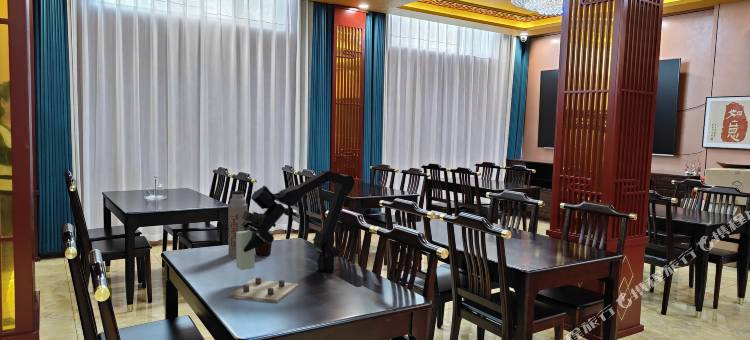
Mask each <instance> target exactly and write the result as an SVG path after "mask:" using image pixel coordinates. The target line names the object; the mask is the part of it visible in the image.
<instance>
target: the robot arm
mask: <svg viewBox="0 0 750 340" xmlns="http://www.w3.org/2000/svg"><path fill="white" fill-rule="evenodd" d="M354 178H355V177H353V176H352V175H348V174H343V173H341V174H339V173H337V172H335V171H334V172H333V171H332V170H328V169H324V170H322V171H321V172H318V174H315V175H313V176H312V177H310V178H308V179H306V180H305V181H303V182H301V183H299V184H298V185H294V186H289V187H286V188H284V189H283V188H282V189H281V190H280V191H279V192H276V193H273V192H271V190H270V189H269V188H268V187H267V185H263V186H262V187H261V188H258V189H256V190H255V191H254V192H253V193H252V195H251V196H250V197H251V198H250V199H251V200H252V201H253V202H254V203H255V204H256V205H257V206H258V207H259V208H260V209H261V210H264V212H263V213H258V212H257V211H253V212H250V211H248V210H247V211H245V212H244V214H243V216H242V219H244V220H246V221H244V222H243V223H242V224H241V225H242V226H243V229H244V231H248V230H250V231H252V238H251V240H250V241H249V242H248V244H247V245H246V247H245V248H244V250H243V251H244V252H247V251H249V250H252V249H254V250H255V248H256V247H258V246H260V245H263V244H266V243H265V241H267V243H269V244H271V243H273V242H274V241H275V237H274V235H273V236H272V235H271V234H270V233H269V232H268V231H271V229H272V228H273V227H274V228H275V227H276V226H277V224H276V223H277V222H278V221H279V220H280V219H281V217H283V215H285V216H287V217H289V216H290V208H288V207H293V206H295V205H297V204H298V203H299V202H300V201H301V200H302V199H303V197H304V196H305V195H307V194H309V193H310V192H312V191H314V190H315V189H317V188H319V187H321V186H323V185H324V184H326V183H328V182H330V183H333V197H332V200H331V203H330V205H329V208H328V212H327V215H326V218H325V220H324V223H323V226H322V228H321V230H320V231H318V230H316V231H315V233H314V234H315V235H314V237H313V239H312V241H313V244H312V245H313V247H314V249H315V250H316V252H317V254H318V258H317V272H323V273H334V272H335V271H336V270H337V269H338V267H337V257H339V254H340V251H339V250H338V249H337V247H335V242H336V237H335V230H336V228H337V224H338V222H339V220H340V219H339V218H340V215H341V213H342V210H343V207H344V203H345V201H346V198H347V197H348V196H349V195H350V194H351V192H352V191H353V189H354V187H355V185H356V184H355V183H356V181H355V179H354ZM276 201H277V202H276ZM285 206H288V207H285ZM265 209H266V210H265Z"/></svg>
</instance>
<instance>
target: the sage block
mask: <svg viewBox="0 0 750 340" xmlns="http://www.w3.org/2000/svg"><path fill="white" fill-rule="evenodd" d="M251 238H252V231H250V230H248V231H239V232H236V257H235V258H236V259H235V260H236V262H235V263H236V264H235V265H236V268H237V269H238V270H240V271H245V270H251V269H255V248H254V249H252V250H249V251H247V252H244V251H243V250H244V248H245V247H246V245H247V244H248V242H249V241H250V240H251Z"/></svg>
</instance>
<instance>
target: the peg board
mask: <svg viewBox="0 0 750 340" xmlns="http://www.w3.org/2000/svg"><path fill="white" fill-rule="evenodd" d="M298 287H299V283H293V282H286V281H285V279H279V280H278V281H275V280H274V281H273V280H263V279H262V277H255V278H252V279H251V280H249V281H247V282H245V283H244V284H242V285H240V286H239V287H237V288H236V289H234V290H232V291H231V292H229V293H227V298H231V299H240V300H247V301H248V300H249V301H258V302H266V303H275V304H278V303H279V302H280V301H282V300H283V299H285V298H286V297H287V296H288V295H290V294H291V293H292V292H294V291H295V290H296V289H297V288H298Z"/></svg>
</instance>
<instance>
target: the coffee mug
mask: <svg viewBox="0 0 750 340" xmlns="http://www.w3.org/2000/svg"><path fill="white" fill-rule="evenodd" d="M268 232H269V233H270V234H271V235H272V236H273V237H274V231H273V230H269V231H268ZM265 243H266V244H263V245H260V246H258V247H256V248H254V254H255V256H257V257H261V258H262V257H268V256H271V255H272V254H271V253H272V252H271V251H272V243H273V242H272V243H271V244H269V243H267V241H265Z"/></svg>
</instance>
